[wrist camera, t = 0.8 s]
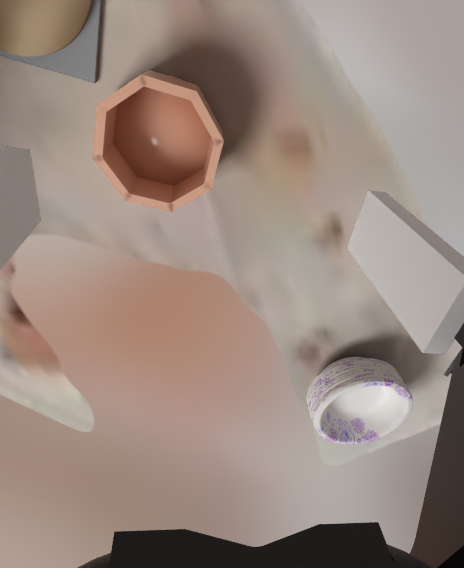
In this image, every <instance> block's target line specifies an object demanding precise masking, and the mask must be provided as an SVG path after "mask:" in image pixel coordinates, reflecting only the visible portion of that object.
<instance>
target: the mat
mask: <svg viewBox="0 0 464 568" xmlns="http://www.w3.org/2000/svg"><path fill="white" fill-rule="evenodd" d="M101 4H102V0H93V3H92V8H91V12H90V14H89V17H88V20H87V22H86V24H85V26H84V28H83V29H82V31H81V32H80V34H79V35H78V36H77V37H76V39H75V40H74V41H72V42H71V43H70V44H69V45H68V46H66V47H65V48H63V49H62V50H60V51H57V52H55V53H52V54H48V55H43V56H32V57H27V56H18V55H13V54H9V53H6V52H3V51H1V50H0V55H1V56H4V57H8V58H11V59H14V60H18V61H21V62H24V63H28V64H31V65H35V66H38V67H41V68H45V69H48V70H52V71H55V72H58V73H62V74H65V75H69V76H72V77H75V78H79V79H82V80H85V81H89V82H92V83H96V76H97V61H98V47H99V32H100V18H101Z"/></svg>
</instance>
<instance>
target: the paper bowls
mask: <svg viewBox="0 0 464 568" xmlns="http://www.w3.org/2000/svg"><path fill="white" fill-rule="evenodd" d="M307 404H308V409H309V412H310V415H311V418H312V421H313V426H314V428H315V429H316V431H317V432H318V434H319V435H320V436H321V437H323V438H324V439H326V440H328V441H330V442H334V443H338V444H361V443H366V442H370V441H374V440H377V439H379V438H382V437H384V436H386V435H387V434H389V433H391V432H393V431H394V430H396V429H397V428H398V427H399V426H401V425H402V424H403V423H404V421H405V420H406V419H407V418H408V416H409V415H410V412H411V410H412V404H413V399H412V395H411V393H410V391H409V390H408V388H407V386H406V385H405V383H404V382H403V380H402V378H401V376H400V375H399V373H398V372H397V371H396V369H395V368H394V367H393V366H392V365H390V364H389V363H387V362H385V361H382V360H379V359H373V358H371V359H370V358H363V357H348V358H343V359H340V360H337V361H335V362H333V363H331V364H330V365H328V366H327V367H326V368H325V369H324V370H323V371H322V372H321V373H320V375H318V376H317V377H316V378H315V379H314V380H313V382H312V383H311V385H310V387H309V389H308V392H307Z"/></svg>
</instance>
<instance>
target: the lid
mask: <svg viewBox="0 0 464 568" xmlns="http://www.w3.org/2000/svg"><path fill="white" fill-rule="evenodd" d="M92 3H93V0H0V50H1V51H3V52H6V53H9V54H13V55H18V56H27V57H32V56H43V55H48V54H52V53H55V52H57V51H60V50H62V49H63V48H65V47H66V46H68V45H69V44H70V43H71V42H72V41H74V40H75V39H76V37H77V36H78V35H79V34H80V32H81V31H82V29H83V28H84V26H85V24H86V22H87V20H88V17H89V14H90V12H91V8H92Z"/></svg>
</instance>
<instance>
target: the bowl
mask: <svg viewBox="0 0 464 568" xmlns="http://www.w3.org/2000/svg"><path fill="white" fill-rule="evenodd" d="M223 142H224V139H223V134H222V129H221V127H220V126H219V124H218V122H217V120H216V118H215V116H214V114H213V112H212V110H211V108H210V106H209V104H208V103H207V101H206V99H205V98H204V96H203V94H202V92H201V90H200V89H199V87H198V85H197V84H194V83H190V82H187V81H184V80H182V79H180V78H177V77H175V76H171V75H167V74H162V73H158V72H155V71H152V70H149V69H148V70H147V71H145V72H144V73H142V74H141V75H139V76H138V77H136V78H135V79H134V80H132V81H131V82H129V83H128V84H126V85H125V86H123V87H122V88H121V89H119V90H118V91H116V92H115V93H113V94H112V95H110V96H109V97H108V98H106V99H105V100H103V101H102V102H100V103H99V104H97V107H96V121H95V135H94V148H93V160H94V161H95V163H96V164H97V165H98V167H99V168H100V169H101V170H102V172H103V173H104V174H105V176H106V177H107V178H108V179H109V181H110V182H111V183H112V185H113V186H114V187H115V188H116V190H117V191H118V192H119V194H120V195H121V196H122V197H123V199H124V200H125V201H129V202H133V203H137V204H141V205H146V206H150V207H154V208H159V209H163V210H167V211H171V212H172V211H174V210H176V209H177V208H179V207H181V206H183V205H184V204H186V203H188V202H190V201H191V200H193V199H195V198H197V197H198V196H200V195H202V194H204V193H205V192H207V191H209V190H211V189H212V185H213V181H214V177H215V173H216V169H217V165H218V162H219V158H220V154H221V150H222V146H223Z"/></svg>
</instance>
